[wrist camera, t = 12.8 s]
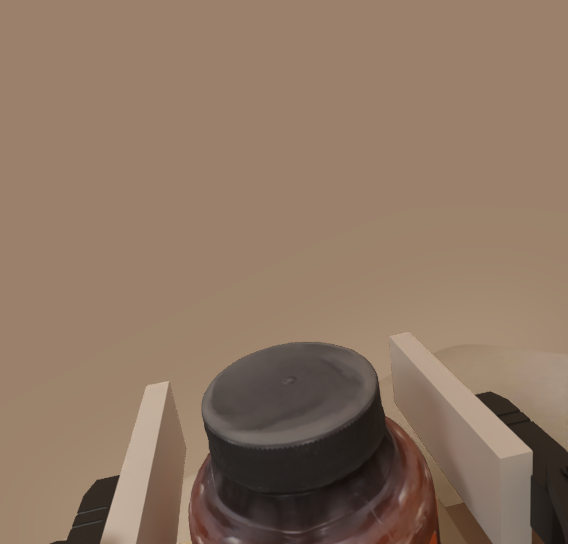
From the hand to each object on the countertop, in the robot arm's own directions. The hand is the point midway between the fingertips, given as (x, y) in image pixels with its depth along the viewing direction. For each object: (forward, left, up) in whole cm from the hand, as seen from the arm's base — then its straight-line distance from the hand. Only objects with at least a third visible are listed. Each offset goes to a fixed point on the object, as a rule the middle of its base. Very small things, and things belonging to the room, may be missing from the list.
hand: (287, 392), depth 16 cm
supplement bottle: (0, -5, -8) cm, 9 cm away
